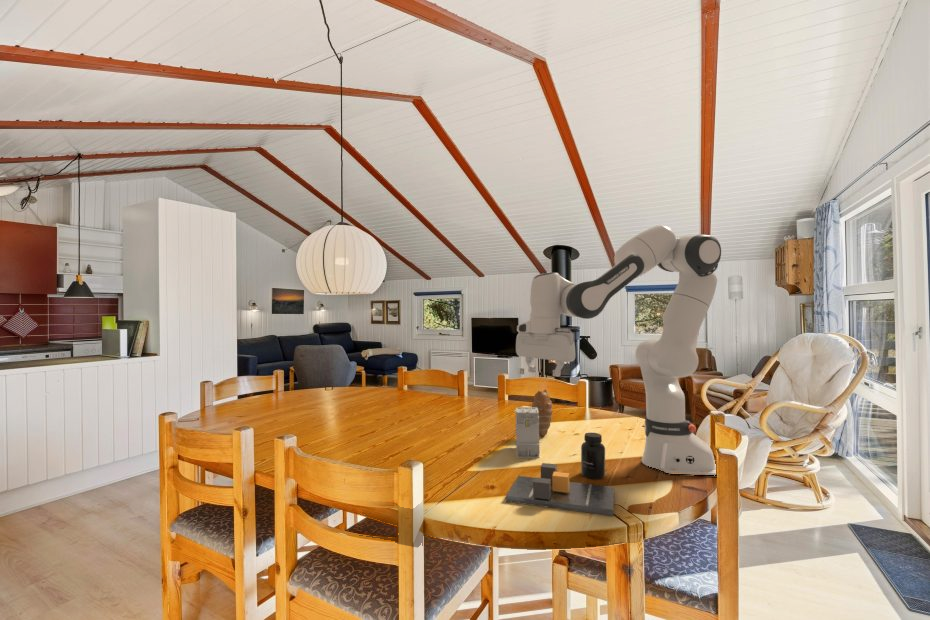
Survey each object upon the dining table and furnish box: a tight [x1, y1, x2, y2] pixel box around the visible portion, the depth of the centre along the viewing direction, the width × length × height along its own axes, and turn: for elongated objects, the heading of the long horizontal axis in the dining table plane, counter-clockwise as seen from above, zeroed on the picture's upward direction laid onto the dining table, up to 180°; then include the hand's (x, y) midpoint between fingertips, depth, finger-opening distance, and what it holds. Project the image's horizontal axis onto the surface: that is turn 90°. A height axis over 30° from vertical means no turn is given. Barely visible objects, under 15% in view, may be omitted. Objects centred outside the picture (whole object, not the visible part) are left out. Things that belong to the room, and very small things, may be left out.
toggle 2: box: [533, 476, 551, 500], centre depth 111 cm, size 4×3×4 cm
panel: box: [505, 475, 615, 517], centre depth 114 cm, size 26×14×2 cm, turn 70°
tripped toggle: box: [552, 471, 570, 493], centre depth 114 cm, size 4×3×4 cm
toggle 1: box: [540, 462, 558, 482], centre depth 121 cm, size 4×3×4 cm
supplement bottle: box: [580, 432, 606, 480], centre depth 129 cm, size 7×7×12 cm
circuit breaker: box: [515, 406, 541, 459], centre depth 152 cm, size 8×14×15 cm, turn 174°
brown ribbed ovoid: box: [531, 388, 553, 437], centre depth 169 cm, size 9×8×18 cm
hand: (543, 374), depth 129 cm, fingers open, 8 cm apart
